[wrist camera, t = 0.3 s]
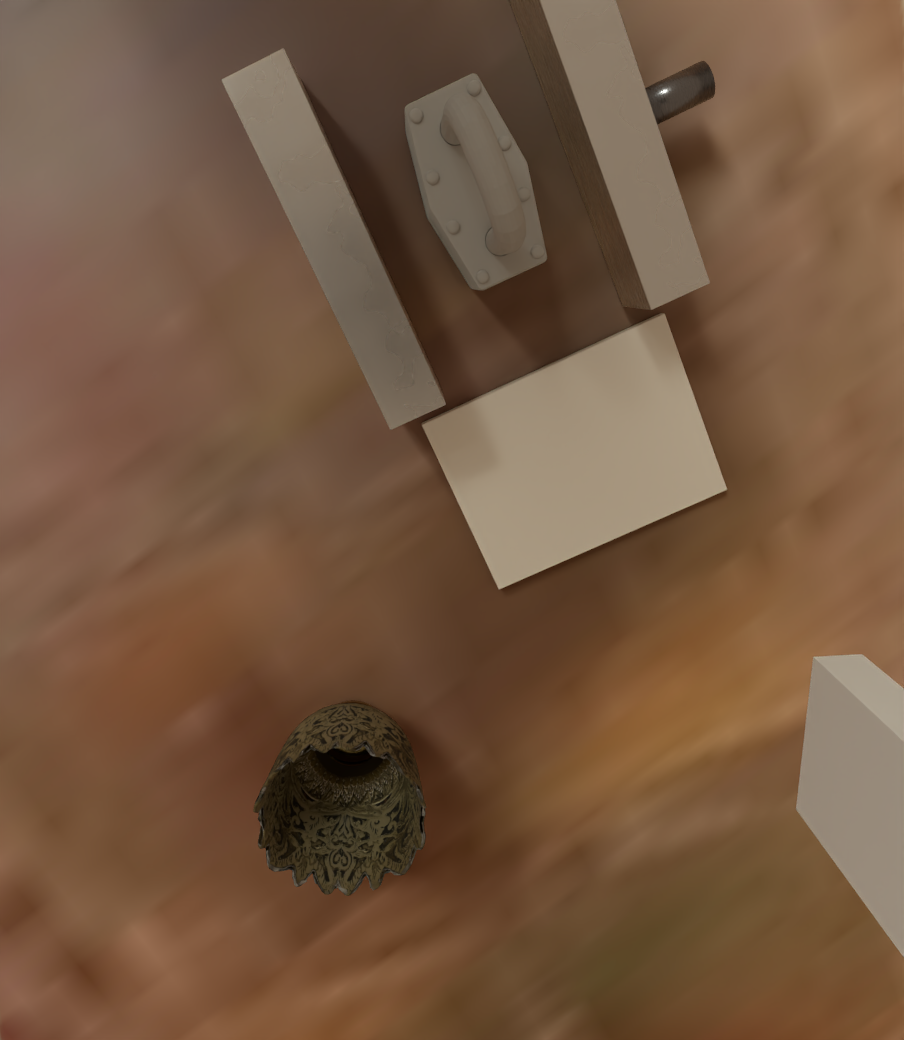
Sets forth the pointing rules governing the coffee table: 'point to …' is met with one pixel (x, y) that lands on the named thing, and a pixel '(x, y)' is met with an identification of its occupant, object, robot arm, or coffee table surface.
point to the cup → (343, 800)
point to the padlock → (474, 183)
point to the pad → (577, 452)
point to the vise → (588, 146)
